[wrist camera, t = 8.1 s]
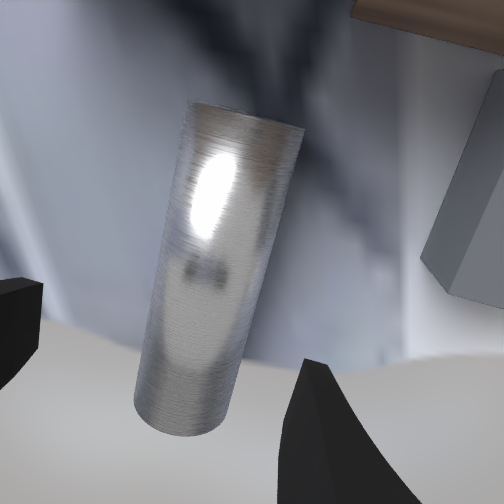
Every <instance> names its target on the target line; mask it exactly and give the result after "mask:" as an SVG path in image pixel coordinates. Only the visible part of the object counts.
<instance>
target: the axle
mask: <svg viewBox="0 0 504 504" xmlns="http://www.w3.org/2000/svg"><path fill="white" fill-rule="evenodd" d="M304 132H305V129H304V128H301V127H298V126H295V125H292V124H288V123H285V122H281V121H278V120H274V119H270V118H267V117H263V116H259V115H255V114H251V113H248V112H244V111H240V110H236V109H232V108H228V107H224V106H220V105H216V104H211V103H207V102H202V101H198V100H192V99H188V100H187V106H186V111H185V117H184V122H183V128H182V133H181V139H180V144H179V150H178V155H177V161H176V166H175V172H174V177H173V183H172V188H171V194H170V200H169V205H168V211H167V216H166V222H165V227H164V233H163V238H162V244H161V249H160V255H159V260H158V266H157V271H156V277H155V282H154V288H153V293H152V299H151V304H150V310H149V315H148V321H147V327H146V332H145V338H144V343H143V349H142V354H141V360H140V365H139V371H138V376H137V382H136V388H135V393H134V406H135V408H136V411H137V412H138V414H139V416H140V417H141V418H142V419H143V420H144V421H145V422H146V423H147V424H148V425H150V426H151V427H153V428H155V429H157V430H159V431H161V432H164V433H167V434H170V435H176V436H197V435H201V434H204V433H207V432H209V431H212V430H213V429H215V428H216V427H217V426H219V425H220V424H221V423H222V421H223V420H224V418H225V416H226V413H227V410H228V406H229V402H230V399H231V395H232V391H233V388H234V384H235V381H236V377H237V374H238V370H239V366H240V363H241V359H242V356H243V352H244V348H245V345H246V341H247V337H248V334H249V330H250V327H251V323H252V319H253V316H254V312H255V309H256V305H257V301H258V298H259V294H260V291H261V287H262V283H263V280H264V276H265V272H266V269H267V265H268V262H269V258H270V254H271V251H272V247H273V244H274V240H275V236H276V233H277V229H278V226H279V222H280V218H281V215H282V211H283V207H284V204H285V200H286V197H287V193H288V189H289V186H290V182H291V179H292V175H293V171H294V168H295V164H296V161H297V157H298V153H299V150H300V146H301V142H302V139H303V135H304Z"/></svg>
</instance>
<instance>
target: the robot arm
mask: <svg viewBox="0 0 504 504" xmlns="http://www.w3.org/2000/svg"><path fill="white" fill-rule="evenodd" d="M42 295H43V283H40V282H37V281H33V280H30V279H26V278H23V277H21V278H11V279H5V280H0V390H1V389H2V388H3V387H4V386H5V385H6V384H7V383H8V382H9V381H10V380H11V379H12V378H13V377H14V376H15V375H16V374H17V373H18V372H19V371H20V369H21V368H22V367H23V366H24V365H25V364H26V362H27V361H28V360H29V359H30V357H31V356H32V355H33V354H34V352H35V351H36V350H37V349H38V343H39V331H40V319H41V307H42ZM277 493H278V494H277V504H422V503H421V502H420V501H419V500H418V499H417V497H416V496H415V495H414V494H413V493H412V492H411V491H410V490H409V488H408V487H407V486H406V485H405V483H404V482H403V481H402V480H401V479H400V477H399V476H398V475H397V473H396V472H395V471H394V470H393V469H392V467H391V466H390V465H389V463H388V462H387V461H386V459H385V458H384V457H383V456H382V454H381V453H380V451H379V450H378V448H377V447H376V445H375V444H374V443H373V441H372V440H371V438H370V437H369V435H368V434H367V432H366V431H365V430H364V428H363V426H362V425H361V423H360V422H359V420H358V418H357V417H356V415H355V414H354V412H353V410H352V408H351V407H350V405H349V403H348V402H347V400H346V398H345V396H344V394H343V393H342V391H341V389H340V387H339V385H338V383H337V382H336V380H335V378H334V376H333V374H332V372H331V371H330V369H329V367H328V365H326V364H323V363H319V362H316V361H312V360H309V359H305V358H304V361H303V364H302V367H301V370H300V373H299V376H298V379H297V382H296V385H295V388H294V391H293V394H292V397H291V400H290V403H289V406H288V409H287V412H286V415H285V418H284V421H283V428H282V434H281V442H280V449H279V456H278V490H277Z"/></svg>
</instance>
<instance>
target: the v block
mask: <svg viewBox="0 0 504 504" xmlns="http://www.w3.org/2000/svg"><path fill="white" fill-rule="evenodd" d="M420 259H421V260H422V261H423V262H424V264H425V265H426V266H427V268H428V269H429V270H430V271H431V273H432V274H433V275H434V277H435V278H436V279H437V280H438V282H439V283H440V284H441V286H442V287H443V288H444V289H445V291H446V292H447V293H448V294H451V295H454V296H458V297H462V298H465V299H469V300H473V301H476V302H480V303H483V304H487V305H491V306H494V307H498V308H502V309H504V69H502V70H498V71H496V73H495V75H494V78H493V80H492V83H491V85H490V88H489V90H488V93H487V95H486V97H485V100H484V102H483V105H482V107H481V110H480V112H479V115H478V117H477V120H476V122H475V124H474V127H473V129H472V132H471V134H470V137H469V139H468V142H467V144H466V147H465V149H464V151H463V154H462V156H461V159H460V161H459V164H458V166H457V169H456V171H455V174H454V176H453V178H452V181H451V183H450V186H449V188H448V191H447V193H446V196H445V198H444V201H443V203H442V205H441V208H440V210H439V213H438V215H437V218H436V220H435V223H434V225H433V228H432V230H431V232H430V235H429V237H428V240H427V242H426V245H425V247H424V250H423V252H422V255H421V257H420Z"/></svg>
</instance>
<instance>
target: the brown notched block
mask: <svg viewBox="0 0 504 504" xmlns="http://www.w3.org/2000/svg"><path fill="white" fill-rule="evenodd" d="M351 17H352V18H356V19H360V20H364V21H368V22H372V23H376V24H380V25H384V26H388V27H392V28H396V29H400V30H404V31H408V32H412V33H416V34H420V35H424V36H428V37H432V38H436V39H440V40H444V41H448V42H452V43H456V44H460V45H464V46H468V47H472V48H476V49H480V50H484V51H489V52H493V53H497V54H501V55H504V0H355V4H354V7H353V11H352V14H351Z"/></svg>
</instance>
